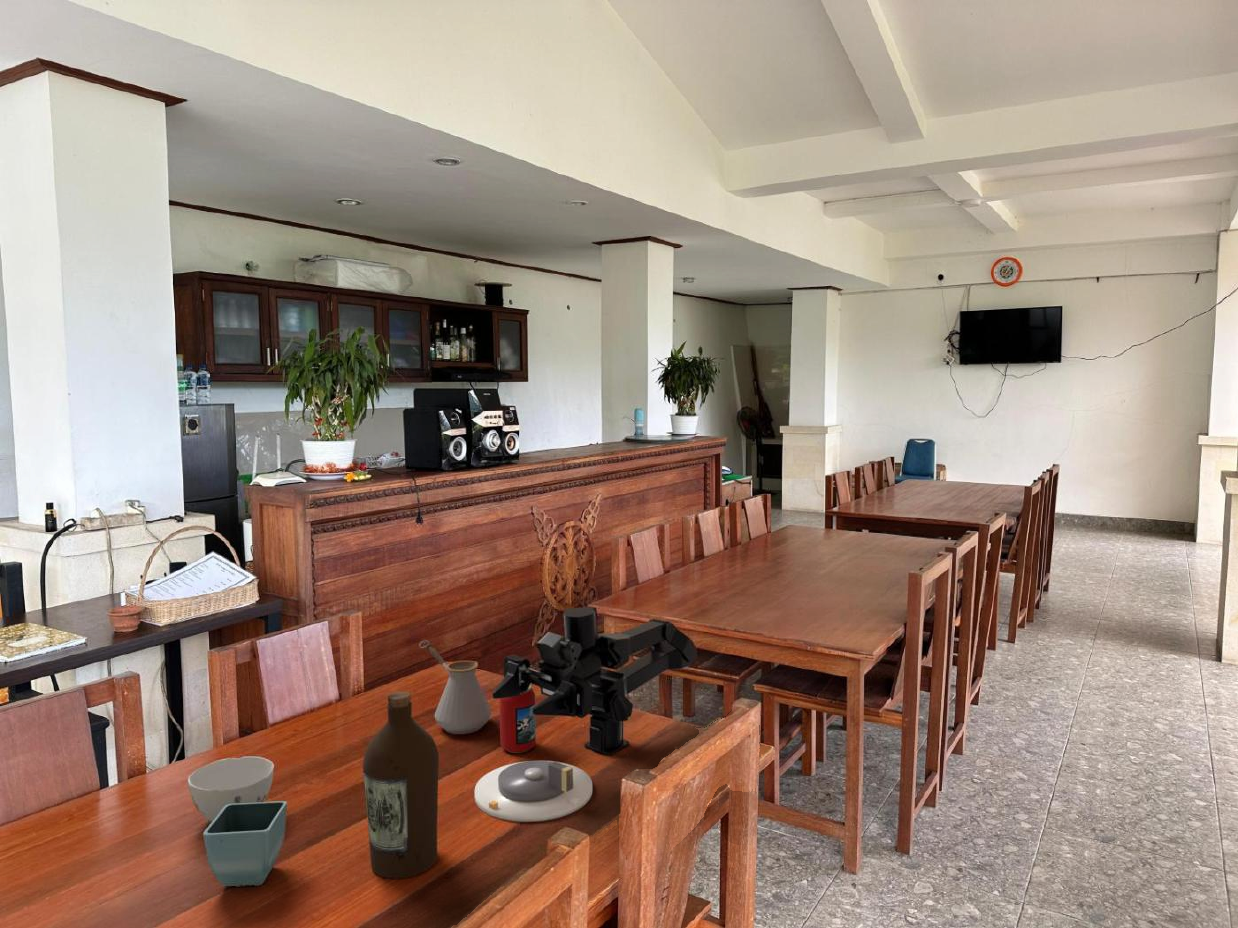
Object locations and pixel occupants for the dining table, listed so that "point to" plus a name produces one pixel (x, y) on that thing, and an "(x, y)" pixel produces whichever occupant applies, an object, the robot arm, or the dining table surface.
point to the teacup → (230, 783)
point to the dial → (535, 780)
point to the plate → (531, 811)
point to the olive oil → (401, 794)
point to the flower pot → (245, 841)
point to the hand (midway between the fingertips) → (513, 703)
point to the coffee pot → (461, 697)
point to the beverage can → (518, 722)
